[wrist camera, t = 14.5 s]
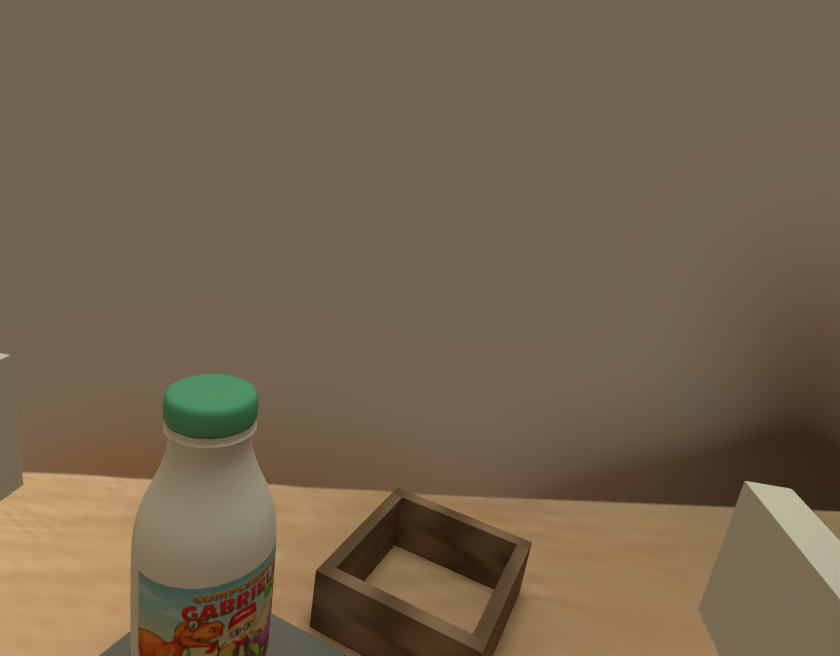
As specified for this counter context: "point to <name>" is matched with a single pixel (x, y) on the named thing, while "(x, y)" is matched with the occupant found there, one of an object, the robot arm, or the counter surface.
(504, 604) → the walnut caddy
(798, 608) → the robot arm
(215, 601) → the milk bottle
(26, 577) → the counter surface
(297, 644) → the slate tile
